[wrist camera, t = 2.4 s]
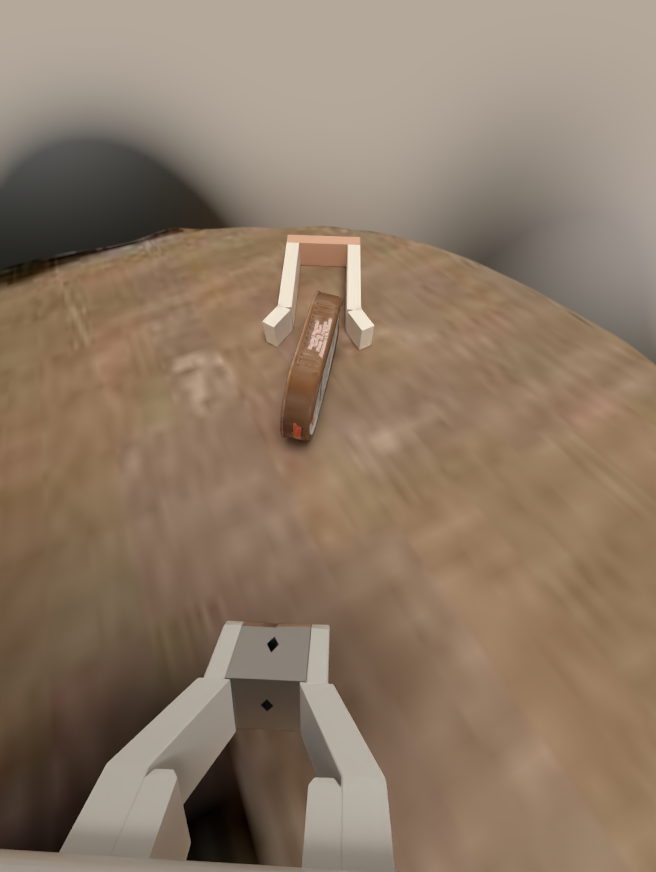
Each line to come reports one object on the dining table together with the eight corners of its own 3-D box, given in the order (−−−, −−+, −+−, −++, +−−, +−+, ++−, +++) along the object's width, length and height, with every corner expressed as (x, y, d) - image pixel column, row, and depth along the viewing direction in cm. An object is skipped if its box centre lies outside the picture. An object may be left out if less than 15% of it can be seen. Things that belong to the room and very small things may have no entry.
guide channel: (265, 346, 37) (261, 326, 34) (279, 256, 43) (276, 234, 41) (370, 350, 37) (374, 331, 34) (368, 259, 43) (371, 237, 41)
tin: (316, 334, 38) (315, 268, 30) (343, 339, 37) (348, 274, 30) (282, 451, 31) (268, 405, 24) (314, 458, 31) (311, 413, 23)
